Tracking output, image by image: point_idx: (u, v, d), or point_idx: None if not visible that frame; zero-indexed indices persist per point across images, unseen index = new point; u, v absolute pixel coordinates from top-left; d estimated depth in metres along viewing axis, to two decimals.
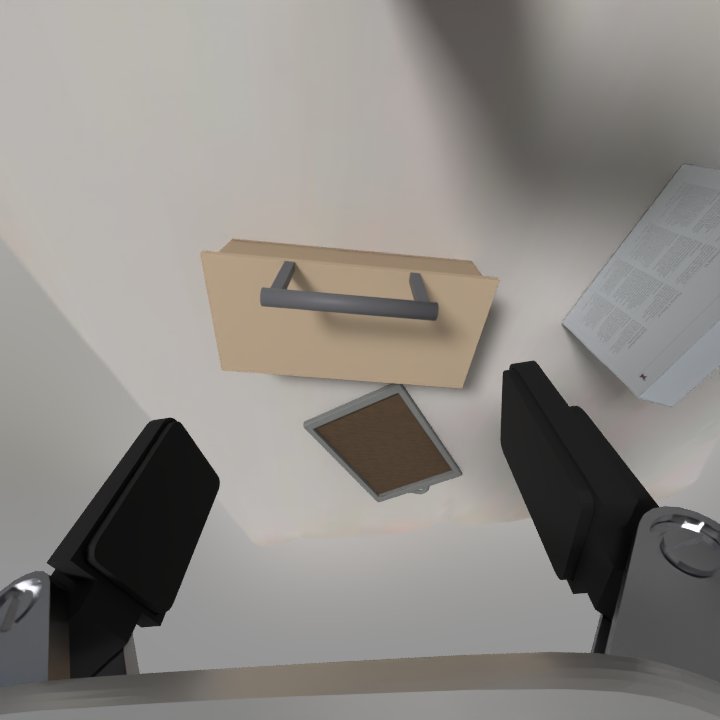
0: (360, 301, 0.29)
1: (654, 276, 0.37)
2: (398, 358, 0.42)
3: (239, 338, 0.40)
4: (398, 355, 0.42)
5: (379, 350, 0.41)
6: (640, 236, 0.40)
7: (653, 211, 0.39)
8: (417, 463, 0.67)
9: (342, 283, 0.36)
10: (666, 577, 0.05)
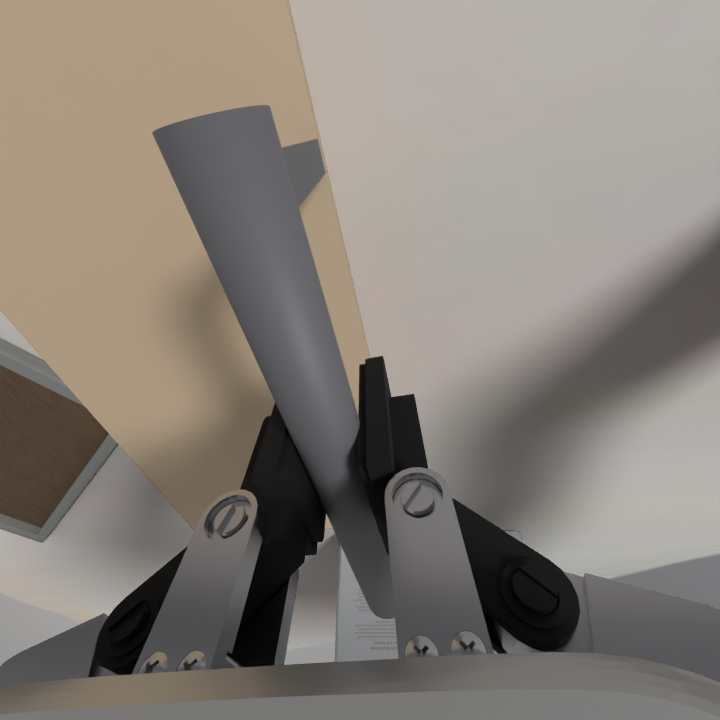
0: None
1: None
2: (197, 455, 0.20)
3: None
4: (205, 453, 0.20)
5: (192, 423, 0.18)
6: None
7: None
8: (0, 487, 0.36)
9: None
10: (410, 530, 0.06)
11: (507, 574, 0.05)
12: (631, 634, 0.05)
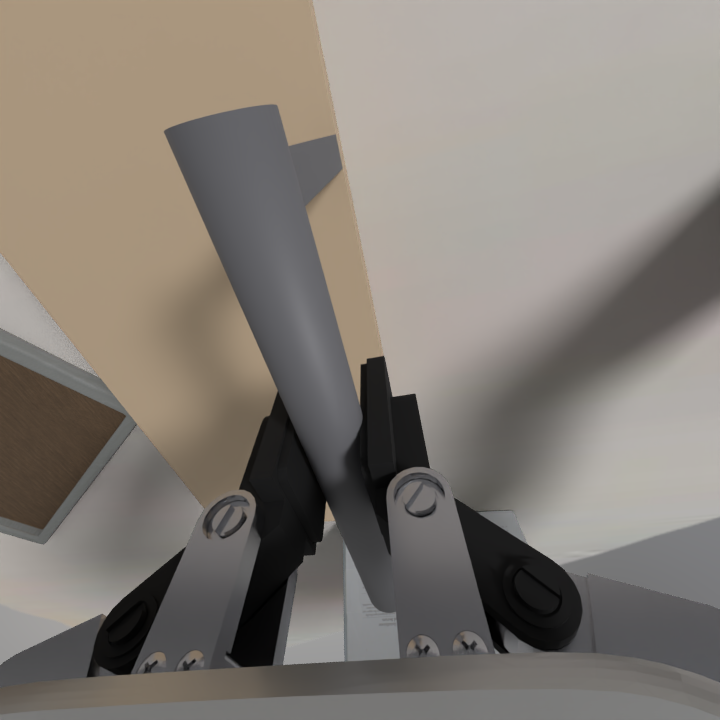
0: None
1: None
2: (213, 441, 0.20)
3: None
4: (220, 440, 0.20)
5: (209, 410, 0.19)
6: None
7: None
8: (1, 488, 0.35)
9: None
10: (411, 529, 0.06)
11: (509, 574, 0.05)
12: (634, 635, 0.05)
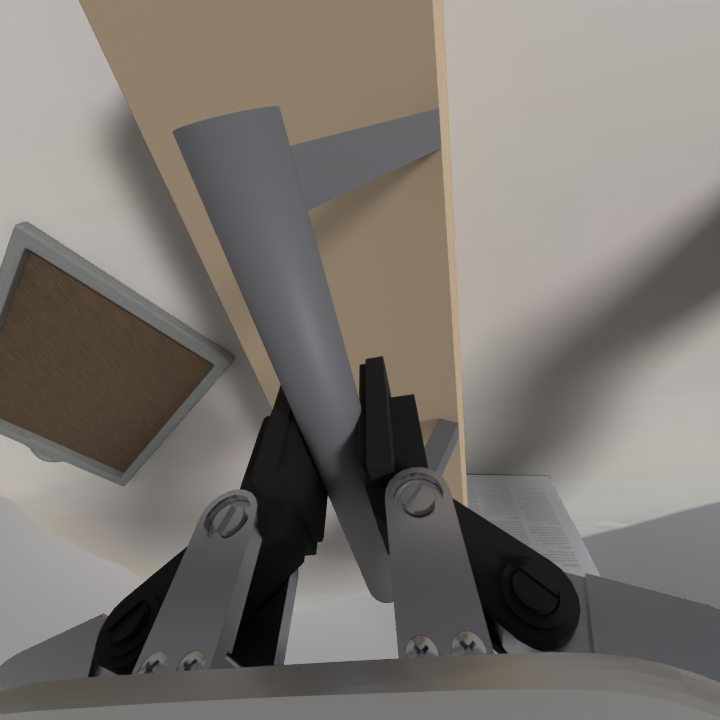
0: (359, 495, 0.09)
1: None
2: None
3: None
4: None
5: None
6: (496, 486, 0.43)
7: (514, 481, 0.44)
8: (95, 431, 0.40)
9: (405, 294, 0.14)
10: (410, 529, 0.06)
11: (507, 574, 0.05)
12: (632, 633, 0.05)
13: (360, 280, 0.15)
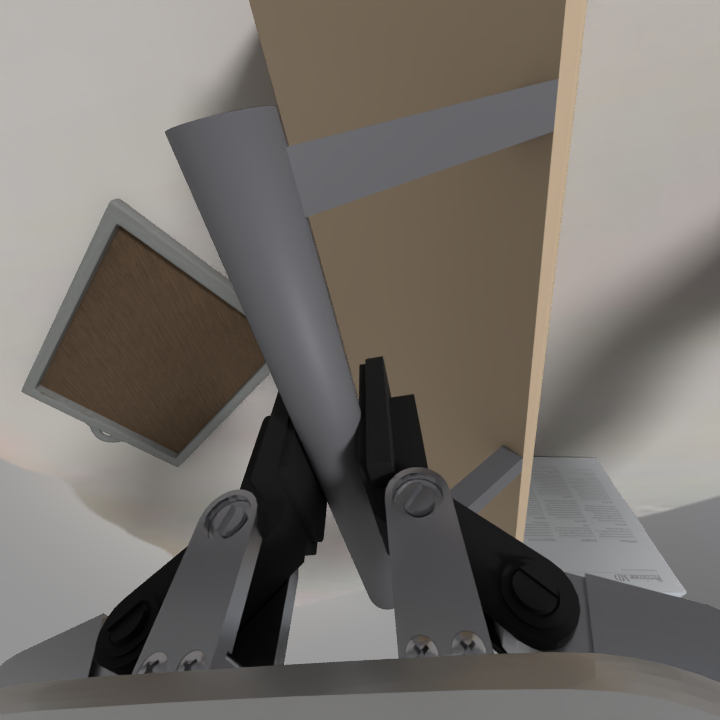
0: (346, 505, 0.09)
1: (541, 506, 0.39)
2: None
3: None
4: None
5: (377, 342, 0.21)
6: (546, 467, 0.44)
7: (563, 462, 0.44)
8: (156, 411, 0.41)
9: (485, 301, 0.12)
10: (410, 529, 0.06)
11: (507, 574, 0.05)
12: (632, 635, 0.05)
13: (442, 276, 0.14)
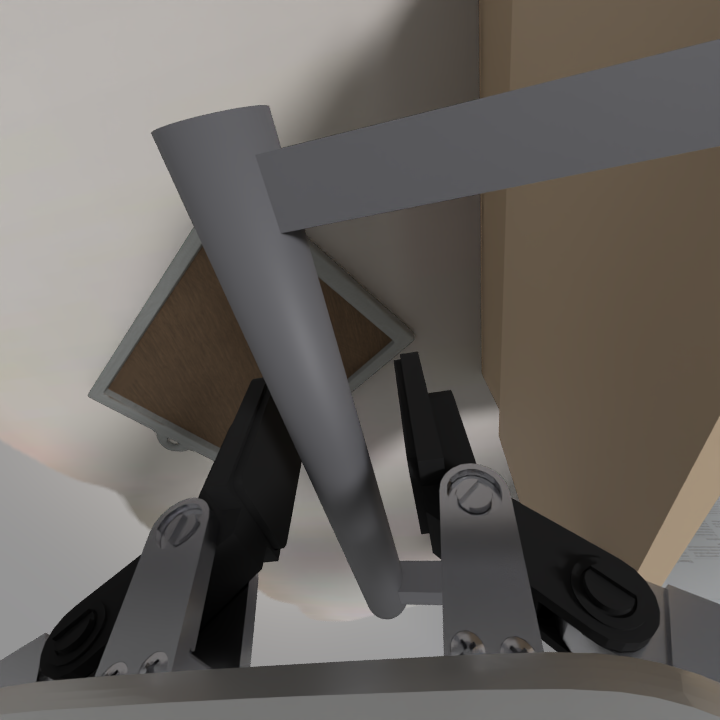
0: (326, 510, 0.09)
1: None
2: (518, 379, 0.19)
3: None
4: (521, 384, 0.19)
5: (526, 354, 0.17)
6: None
7: None
8: (233, 417, 0.37)
9: (647, 374, 0.08)
10: (464, 525, 0.06)
11: (577, 573, 0.05)
12: (719, 654, 0.04)
13: (607, 311, 0.09)
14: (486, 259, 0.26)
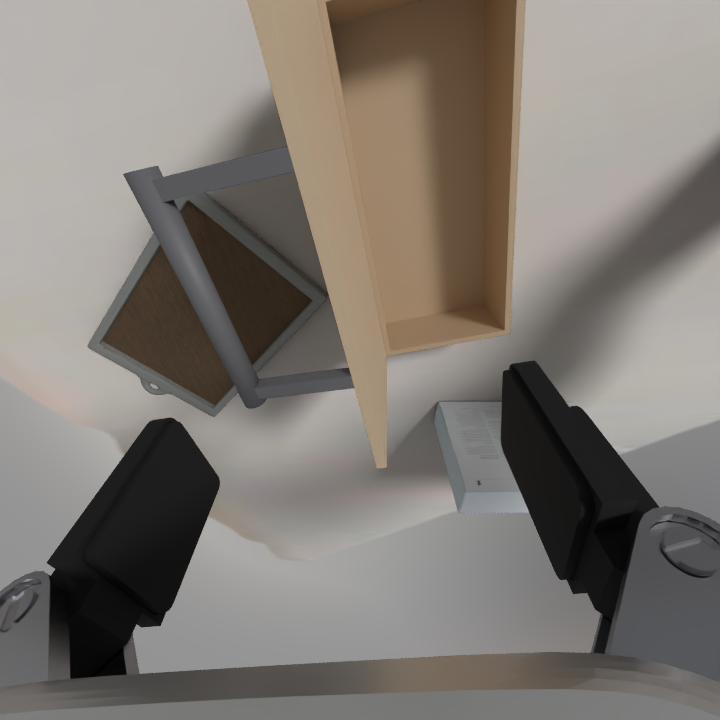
0: (204, 326, 0.21)
1: None
2: None
3: None
4: None
5: None
6: None
7: None
8: (200, 364, 0.49)
9: None
10: (666, 577, 0.05)
11: None
12: None
13: None
14: None
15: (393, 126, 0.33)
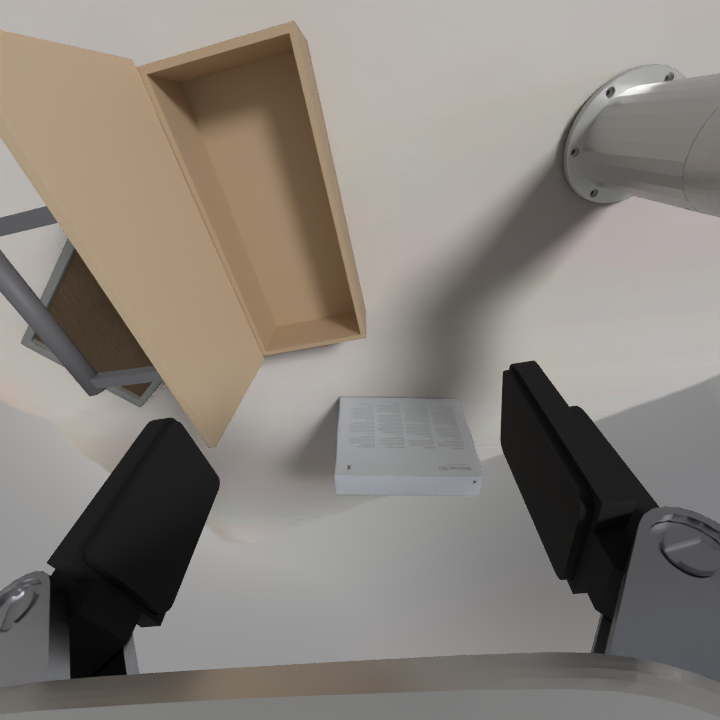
0: None
1: (403, 428, 0.53)
2: None
3: None
4: None
5: None
6: (417, 404, 0.58)
7: (431, 401, 0.59)
8: (122, 360, 0.55)
9: None
10: (666, 577, 0.05)
11: None
12: None
13: None
14: None
15: (249, 161, 0.39)
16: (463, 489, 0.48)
